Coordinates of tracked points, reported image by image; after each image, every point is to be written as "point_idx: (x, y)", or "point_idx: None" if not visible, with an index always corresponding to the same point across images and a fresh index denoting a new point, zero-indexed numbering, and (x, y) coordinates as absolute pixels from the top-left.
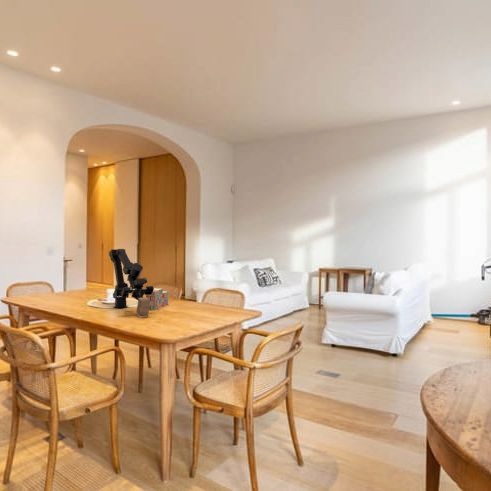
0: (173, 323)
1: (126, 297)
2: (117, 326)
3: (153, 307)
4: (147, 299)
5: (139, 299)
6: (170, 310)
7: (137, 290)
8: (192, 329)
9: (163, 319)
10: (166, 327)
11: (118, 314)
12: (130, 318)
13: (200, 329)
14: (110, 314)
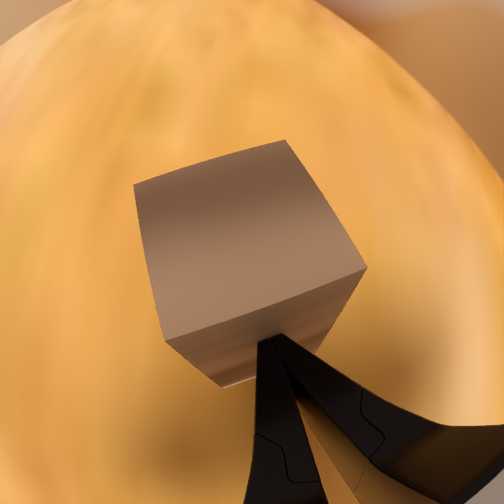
0: (93, 66)
1: None
2: (394, 73)
3: None
4: (167, 224)
5: (336, 224)
6: (10, 483)
7: (487, 471)
8: (84, 6)
9: (99, 159)
10: (157, 16)
11: None
12: None
13: (63, 10)
14: None
